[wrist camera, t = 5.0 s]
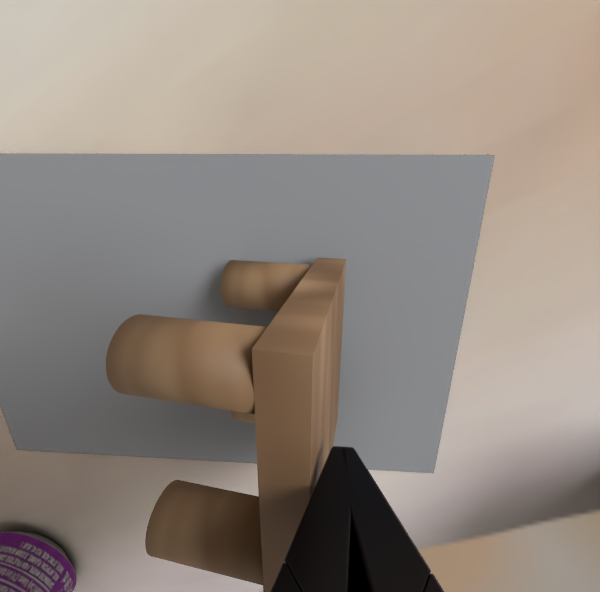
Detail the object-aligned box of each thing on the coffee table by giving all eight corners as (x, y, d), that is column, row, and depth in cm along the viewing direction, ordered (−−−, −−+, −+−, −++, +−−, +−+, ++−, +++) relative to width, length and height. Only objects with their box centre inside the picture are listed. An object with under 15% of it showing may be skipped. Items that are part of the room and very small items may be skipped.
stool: (346, 259, 13) (312, 355, 6) (337, 417, 16) (307, 616, 9) (238, 253, 14) (96, 330, 7) (247, 403, 17) (151, 574, 10)
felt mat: (490, 155, 13) (494, 155, 12) (431, 468, 18) (433, 473, 18) (-84, 153, 14) (-92, 153, 14) (21, 445, 19) (16, 449, 19)
